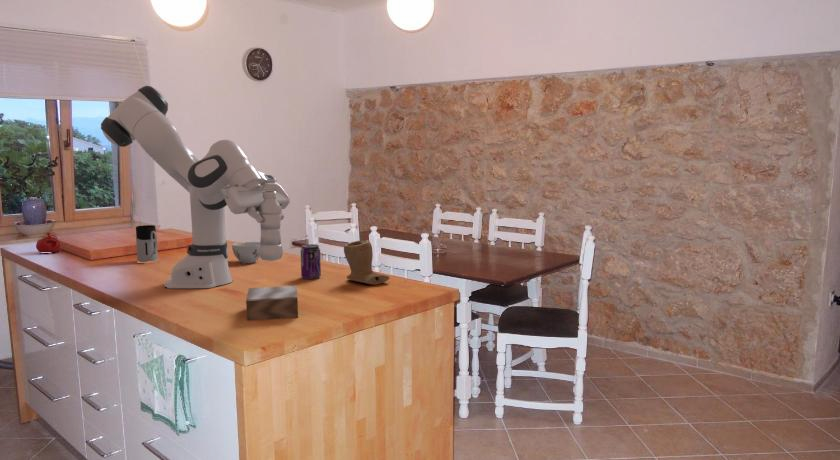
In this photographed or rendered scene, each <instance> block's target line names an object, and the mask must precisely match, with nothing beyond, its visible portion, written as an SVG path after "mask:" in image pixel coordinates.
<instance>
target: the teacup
mask: <svg viewBox="0 0 840 460" xmlns="http://www.w3.org/2000/svg"><path fill="white" fill-rule="evenodd" d="M259 247H260V242H259V241H248V242H247V241H246V242H235V243H232V244H231V248H232V251H233V252H232V253H233V254H234V257H235V258H236V259H237V260H238V261H240V263H241V264H244V263H248V264H254V263H256V261H258V260H259V258H260V255H259Z"/></svg>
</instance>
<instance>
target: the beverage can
mask: <svg viewBox="0 0 840 460" xmlns="http://www.w3.org/2000/svg"><path fill="white" fill-rule="evenodd" d="M321 264H322V263H321V249H320V245H319V244H313V243H312V244H303V245H301V249H300V271H301V272H300V273H301V274H300V275H301V278H303V279H306V280H314V279H319V277H321V276H322V274H321V273H322V268H321V266H322V265H321Z"/></svg>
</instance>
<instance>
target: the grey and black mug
mask: <svg viewBox="0 0 840 460" xmlns="http://www.w3.org/2000/svg"><path fill="white" fill-rule="evenodd" d="M156 230H157V228H156V225H154V224H153V225H152V224H150V225H149V224H146V225H145V224H143V225H138V226H137V225H136V226H135V235H136V237H135V243H136V245H135V246H136V259H137V261H140V262H147V261H155V260H159V258H158V256H159V255H158V254H159V253H158V236H157V231H156ZM137 261H136V262H137Z"/></svg>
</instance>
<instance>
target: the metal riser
mask: <svg viewBox="0 0 840 460" xmlns="http://www.w3.org/2000/svg"><path fill="white" fill-rule="evenodd" d="M298 299H299V298H298V289H297V285H282V286H267V287H265V286H264V287H248V290H247V294H246V299H245V302H246V303H245V304H246V305H245V306H246V321H262V320H263V321H264V320H276V319H277V320H278V319H292V318H299V304H298V303H299V301H298Z"/></svg>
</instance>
